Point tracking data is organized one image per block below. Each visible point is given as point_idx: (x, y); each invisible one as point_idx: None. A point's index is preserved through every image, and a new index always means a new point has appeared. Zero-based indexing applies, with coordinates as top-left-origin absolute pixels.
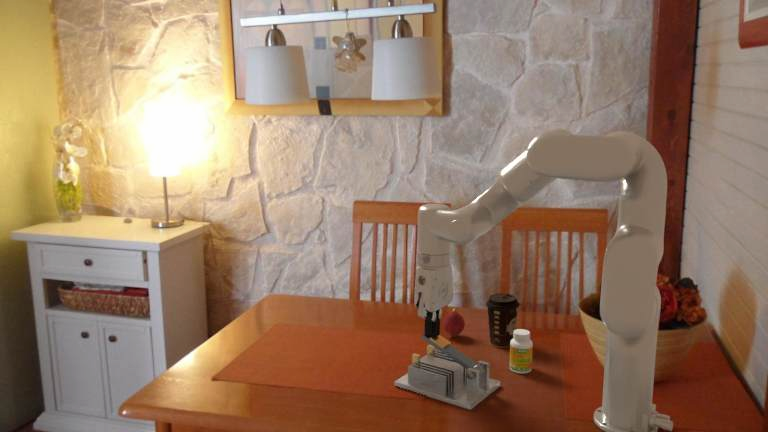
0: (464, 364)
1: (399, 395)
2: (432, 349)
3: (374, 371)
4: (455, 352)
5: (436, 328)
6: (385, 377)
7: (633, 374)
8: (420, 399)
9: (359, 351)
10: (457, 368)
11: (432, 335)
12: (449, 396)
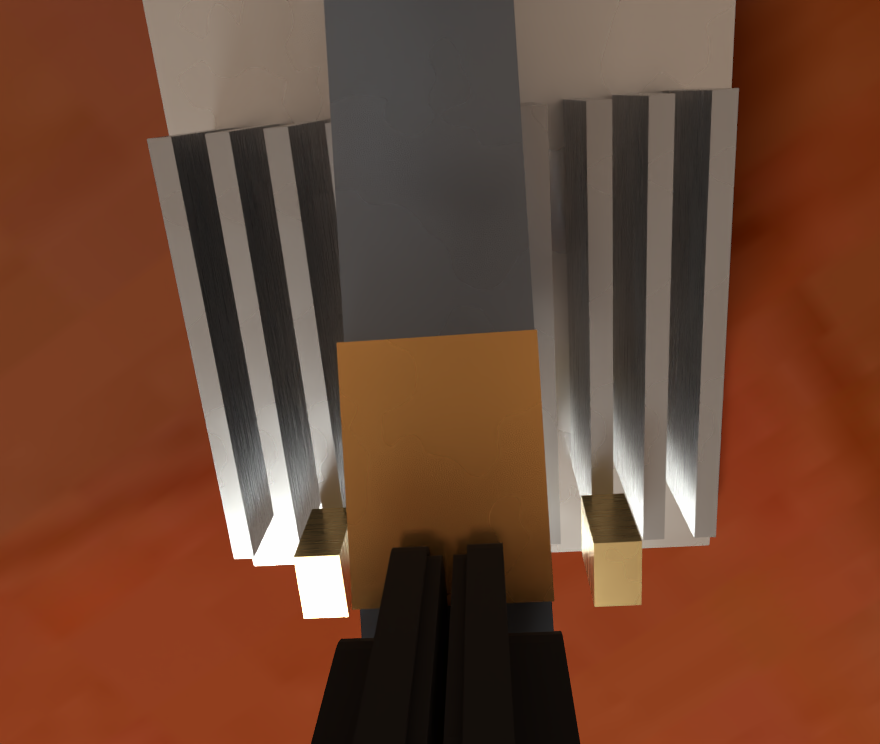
0: None
1: (806, 415)
2: (343, 542)
3: (579, 737)
4: (424, 183)
5: (506, 634)
6: (612, 642)
7: None
8: (781, 254)
9: None
10: None
11: (506, 603)
12: (701, 29)
